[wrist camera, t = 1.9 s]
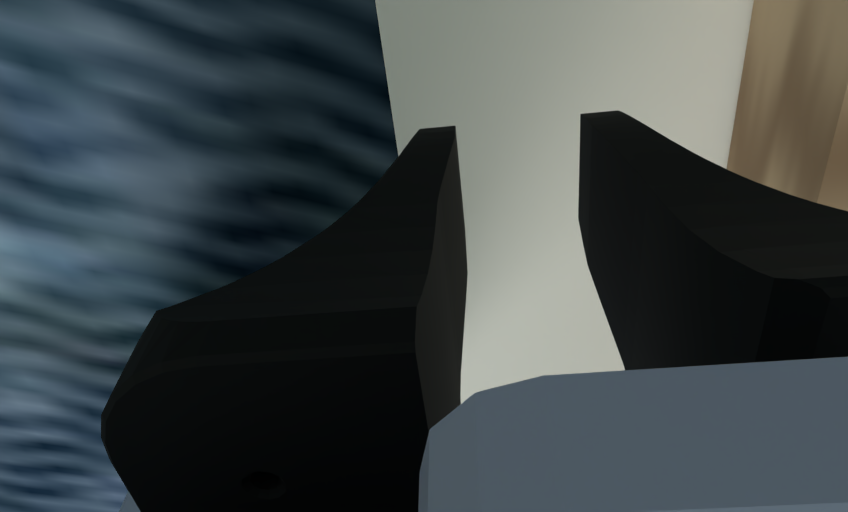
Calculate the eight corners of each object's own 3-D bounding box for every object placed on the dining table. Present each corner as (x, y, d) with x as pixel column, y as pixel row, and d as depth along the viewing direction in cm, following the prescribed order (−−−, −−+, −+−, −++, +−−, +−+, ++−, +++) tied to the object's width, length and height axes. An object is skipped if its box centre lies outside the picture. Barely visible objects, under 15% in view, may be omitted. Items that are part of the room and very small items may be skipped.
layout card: (1009, 485, 29) (1017, 495, 29) (452, 510, 31) (452, 520, 31) (1482, -275, 14) (1513, -277, 14) (357, -133, 16) (355, -130, 16)
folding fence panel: (748, 236, 21) (820, 347, 17) (715, 238, 21) (779, 350, 17) (820, -131, 15) (954, -93, 11) (774, -125, 16) (890, -85, 11)
